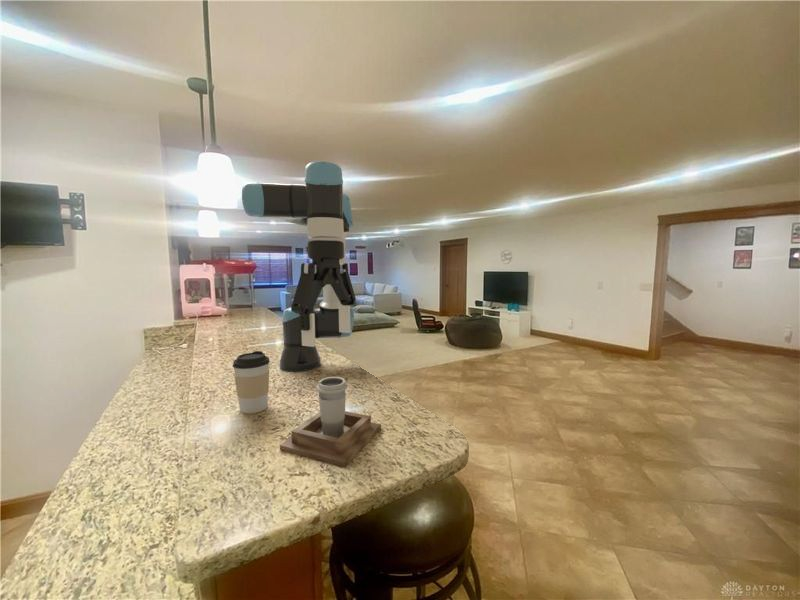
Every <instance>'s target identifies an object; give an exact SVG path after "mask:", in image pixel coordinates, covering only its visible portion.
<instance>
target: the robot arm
mask: <svg viewBox="0 0 800 600" xmlns="http://www.w3.org/2000/svg"><path fill="white" fill-rule="evenodd" d="M304 177H305V178H304V182H305V184H294V183H293V184H286V183H285V184H284V183H269V182H268V183H266V182H265V183H263V182H259V181H257V182H246V183H244V185H242V190H241V201H242V202H241V203H242V207H243V211H244V212H245V214H246V215H247V216H249V217H259V218H277V219H281V220H282V221H285V222H286V223H292V224H295V225H299V226H304V227H306V230H307V238H308V240H309V239H310V240H309V241H308V242H307V258H308V259H310V260H312V262H310V263H309V262H303V263H301V265H300V276H299V280H298V282H297V287H296V290H295V294H294V296H293V300H292V304H291V307H288V308H286V309H284V310H283V312H282V320H281V322H282V333H283V334H282V335H283V350H282V353H281V356H280V359H279V368H280V370H282V371H284V372H285V371H287V372H304V371H309V370H313V369H316V368H317V367H319V366H321V356H320V355H319V351H318V348H317V345H316V339H334V338H335V339H336V338H338V339H340V338H346V337H348V338H349V337H350V336H351V335H352V331H353V329H354V321H355V319H354V317H355V308H354V307H352V306H354V305H355V301H356V300H357V299H356V294H355V291H354V287H353V284H352V280H351V277H350V274H349V273H350V272H349V265H348V263H347V262H346V261H347V260H346V259H347V258H346V257H347V256H346V236H347V235H348V234H349V233H350V228H353V227H354V220H353V211H352V205H351V200H350V197H349V195H348V194H346V193H344V191H343V189H344V187H343V185H344V180H343V170H342V168H341V166H340V165H338V164H337V163H333V162H330V161H313V162H308V164H307V165H306V166H305V176H304ZM321 292H323V293H322V294H323V296H322V297H323V300H322V301H321V302H320V303H319V307H318V308H315V305H316V303H317V301H318V300H319V299H318V298H319V296H320V294H321Z"/></svg>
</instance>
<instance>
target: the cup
mask: <svg viewBox="0 0 800 600" xmlns="http://www.w3.org/2000/svg"><path fill="white" fill-rule="evenodd" d="M347 389H348V384H347V382H346V379H345V378H343V377H341V376H329V377H323V378H322V379H320V380H319V381H318V384H317V385H316V391H317V392H318V400H319V401H318V402H319V403H318V404H319V412H320V416H321V421H322V432H323V434H324V435H328V436H332V437H336V438H337V437H340V436H341V435H342V434H343V433H344V418H345V411H346V397H347V394H346V390H347Z"/></svg>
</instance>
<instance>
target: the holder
mask: <svg viewBox="0 0 800 600" xmlns="http://www.w3.org/2000/svg"><path fill="white" fill-rule="evenodd" d="M371 418H372V417H371V416H370V415H367V414H362V413H356V412H352V411H346V410H345V418H344V433H343V434H342V435H341V436H340V437H337V438H336V437H332V436H328V435H324V434H323V432H322V421H321V416H320V411H318V412H317V413H316V414H314V415H313V416H312V417H310V418H309V419H307V420H306V421H304V422H302V423H301V424H299V426H296V428H294V429H293V430H291V436H290V437H289V438H288V439H286V440H285V441H283V442H282V443H280V444H279V450H280V451H281V450H282V451H285V452H288V453H291V454H295V455H299V456H302V457H307V458H310V459H314V460H316V461H321V462H324V463H328V464H332V465H336V466H339V467H341V468H346V467H347V465H349V463H350V462H352V460H353V459H354V458H355V457H356V456H357V455H358V454H359V453H360V452H361V451H362V449H363V448H364V447H365V446H366V445H367V444H368V443H369V442H370V441H371V440H372V439H373V437H374V436H375V435H377V433H378V432H379V431H380V430H381V429H382V425H381V423H376V422H372V419H371Z"/></svg>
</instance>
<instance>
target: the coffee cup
mask: <svg viewBox="0 0 800 600" xmlns="http://www.w3.org/2000/svg"><path fill="white" fill-rule="evenodd" d="M270 363H271V361H270V358H269V356H266V355H265V353H264V352H263V351H260V350H256V351H252V352H247V353H241V354H239V355H238V356H236V359H234V360H233V365H232V367H233V370H234V374H233V375H234V382H235V387H236V388H235V390H236V394H237V397H238V399H237V400H238V405H239V411H240V412H241V413H243V414H256V413H259V412H263V411H264V410H266V409H267V408H268V402H269V401H268V400H269V399H268V398H269V390H270V389H269V387H270V368H269V367H270Z"/></svg>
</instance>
